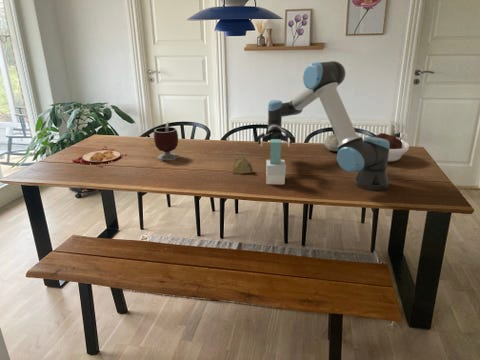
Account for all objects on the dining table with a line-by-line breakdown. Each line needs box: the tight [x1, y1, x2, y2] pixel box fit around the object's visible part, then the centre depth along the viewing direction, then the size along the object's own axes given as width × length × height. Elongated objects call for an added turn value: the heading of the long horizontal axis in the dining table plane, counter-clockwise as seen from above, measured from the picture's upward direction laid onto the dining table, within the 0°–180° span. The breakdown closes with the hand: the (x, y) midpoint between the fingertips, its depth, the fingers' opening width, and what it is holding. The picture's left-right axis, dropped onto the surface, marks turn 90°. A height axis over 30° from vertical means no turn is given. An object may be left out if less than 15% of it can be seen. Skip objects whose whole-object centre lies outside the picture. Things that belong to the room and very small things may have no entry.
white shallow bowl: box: [371, 132, 410, 162], centre depth 218 cm, size 25×25×15 cm
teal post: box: [269, 139, 282, 164], centre depth 186 cm, size 5×5×11 cm
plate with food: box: [71, 145, 127, 168], centre depth 229 cm, size 24×26×3 cm
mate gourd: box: [153, 121, 179, 161], centre depth 226 cm, size 16×14×20 cm
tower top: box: [265, 159, 287, 176], centre depth 188 cm, size 9×9×5 cm
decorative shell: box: [323, 133, 339, 153], centre depth 236 cm, size 18×18×10 cm
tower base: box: [265, 170, 286, 185], centre depth 190 cm, size 9×9×5 cm
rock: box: [231, 153, 254, 175], centre depth 202 cm, size 11×9×10 cm
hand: (275, 144), depth 187 cm, fingers open, 13 cm apart
